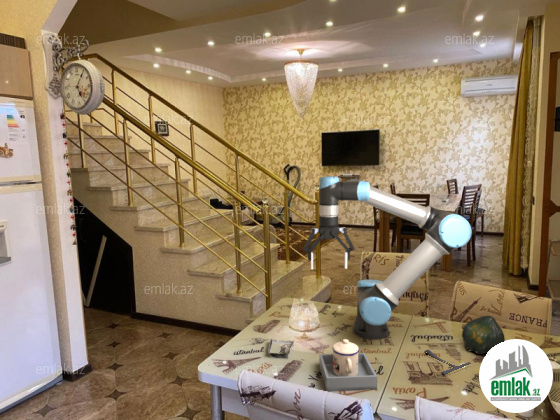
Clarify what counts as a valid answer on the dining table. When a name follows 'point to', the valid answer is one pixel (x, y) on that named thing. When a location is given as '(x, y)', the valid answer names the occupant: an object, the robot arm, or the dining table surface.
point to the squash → (482, 334)
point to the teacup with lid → (345, 358)
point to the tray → (347, 383)
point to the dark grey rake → (446, 363)
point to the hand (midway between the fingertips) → (328, 268)
